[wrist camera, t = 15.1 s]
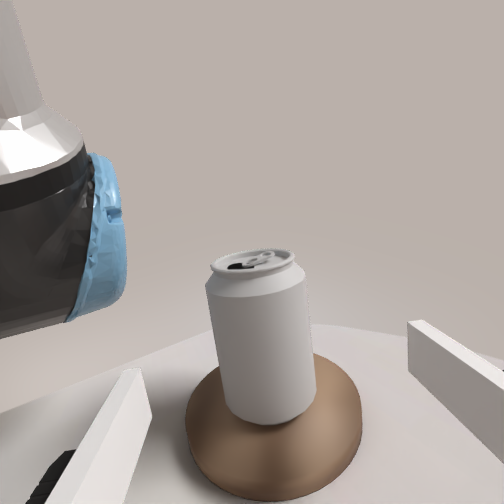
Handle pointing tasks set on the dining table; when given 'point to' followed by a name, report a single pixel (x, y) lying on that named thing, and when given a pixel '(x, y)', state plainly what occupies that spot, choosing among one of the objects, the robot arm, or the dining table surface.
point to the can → (262, 334)
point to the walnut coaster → (276, 439)
